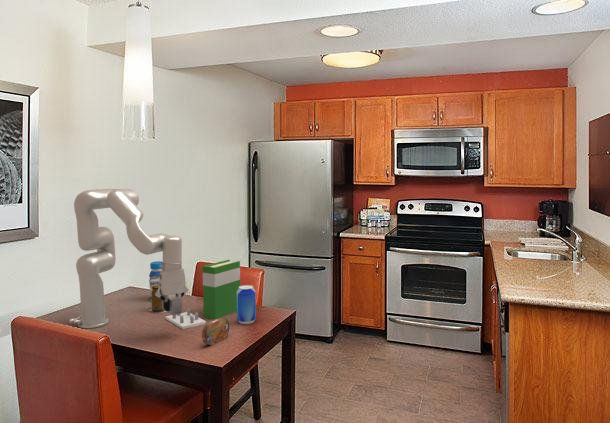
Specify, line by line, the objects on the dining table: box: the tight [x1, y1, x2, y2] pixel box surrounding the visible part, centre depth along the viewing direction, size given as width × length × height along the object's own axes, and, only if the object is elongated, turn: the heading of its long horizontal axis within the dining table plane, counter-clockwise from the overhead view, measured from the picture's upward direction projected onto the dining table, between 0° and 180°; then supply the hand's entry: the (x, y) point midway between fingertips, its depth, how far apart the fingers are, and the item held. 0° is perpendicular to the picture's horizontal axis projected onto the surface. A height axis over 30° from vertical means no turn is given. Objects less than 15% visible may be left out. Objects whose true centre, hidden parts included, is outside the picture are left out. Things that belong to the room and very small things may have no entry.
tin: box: [201, 317, 230, 346], centre depth 187 cm, size 15×3×8 cm, turn 153°
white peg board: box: [165, 308, 207, 330], centre depth 211 cm, size 11×18×4 cm, turn 39°
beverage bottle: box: [148, 260, 163, 302], centre depth 244 cm, size 8×8×20 cm
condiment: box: [148, 285, 168, 314], centre depth 226 cm, size 7×8×12 cm
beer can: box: [236, 284, 257, 325], centre depth 210 cm, size 8×8×16 cm
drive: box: [162, 294, 183, 315], centre depth 193 cm, size 4×10×6 cm, turn 39°
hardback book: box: [202, 259, 241, 320], centre depth 222 cm, size 18×7×24 cm, turn 147°
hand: (171, 309), depth 193 cm, fingers closed on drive, 4 cm apart
